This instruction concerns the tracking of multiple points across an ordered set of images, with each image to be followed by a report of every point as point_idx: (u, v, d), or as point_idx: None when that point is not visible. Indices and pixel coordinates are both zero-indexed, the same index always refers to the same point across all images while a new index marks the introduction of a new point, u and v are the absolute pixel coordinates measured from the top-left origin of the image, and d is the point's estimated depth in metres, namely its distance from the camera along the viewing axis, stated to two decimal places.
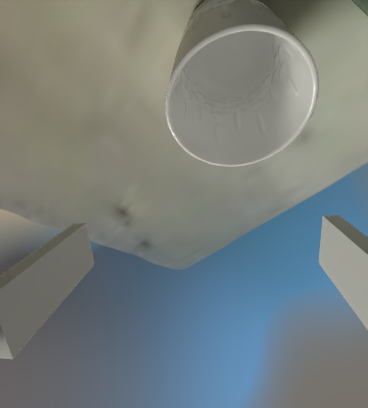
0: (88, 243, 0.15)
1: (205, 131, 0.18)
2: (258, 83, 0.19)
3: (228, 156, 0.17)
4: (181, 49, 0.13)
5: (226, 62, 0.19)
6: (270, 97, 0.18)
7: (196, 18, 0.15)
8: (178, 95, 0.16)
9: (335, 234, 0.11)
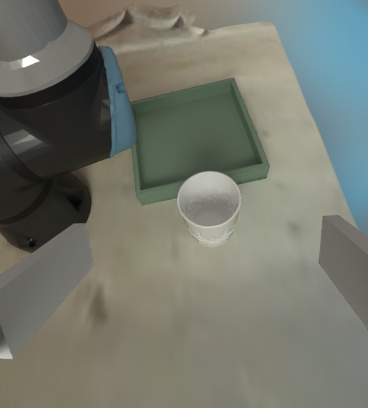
0: (88, 243, 0.15)
1: None
2: None
3: None
4: None
5: (214, 226, 0.38)
6: (233, 207, 0.35)
7: None
8: None
9: (335, 234, 0.11)
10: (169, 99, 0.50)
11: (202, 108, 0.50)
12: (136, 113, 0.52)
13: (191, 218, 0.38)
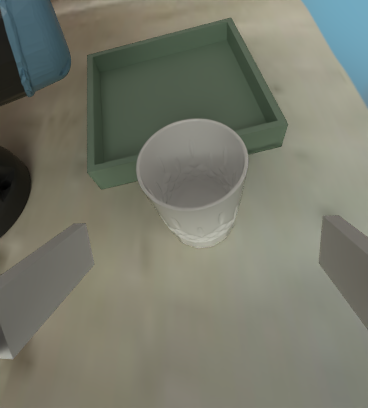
0: (88, 243, 0.15)
1: None
2: None
3: None
4: None
5: None
6: (234, 183, 0.22)
7: None
8: None
9: (335, 234, 0.11)
10: (144, 49, 0.37)
11: (188, 61, 0.37)
12: (101, 71, 0.39)
13: (169, 204, 0.25)
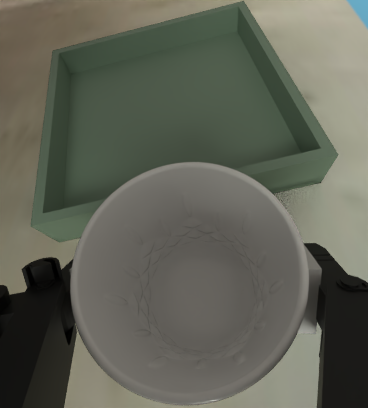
0: None
1: (215, 368, 0.09)
2: (253, 284, 0.14)
3: (263, 353, 0.07)
4: None
5: (209, 302, 0.15)
6: (262, 267, 0.12)
7: None
8: (139, 347, 0.10)
9: None
10: (128, 43, 0.28)
11: (187, 59, 0.28)
12: (72, 71, 0.29)
13: (153, 283, 0.16)
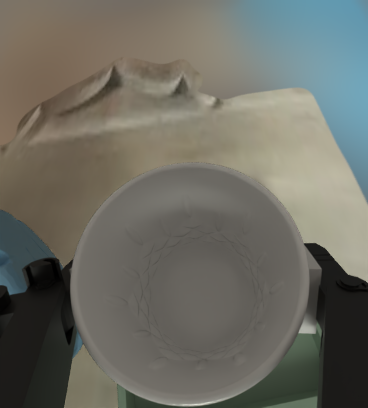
0: None
1: (215, 369, 0.09)
2: (253, 285, 0.14)
3: (263, 354, 0.07)
4: None
5: (210, 303, 0.15)
6: (262, 267, 0.12)
7: None
8: (139, 347, 0.10)
9: None
10: None
11: None
12: None
13: (153, 283, 0.16)
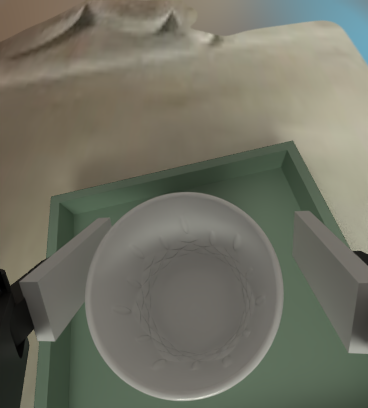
0: None
1: (207, 370, 0.11)
2: (243, 293, 0.16)
3: (245, 359, 0.09)
4: None
5: (204, 309, 0.17)
6: (250, 280, 0.14)
7: None
8: (142, 351, 0.12)
9: (303, 228, 0.12)
10: (146, 187, 0.22)
11: None
12: (76, 213, 0.24)
13: (153, 291, 0.17)
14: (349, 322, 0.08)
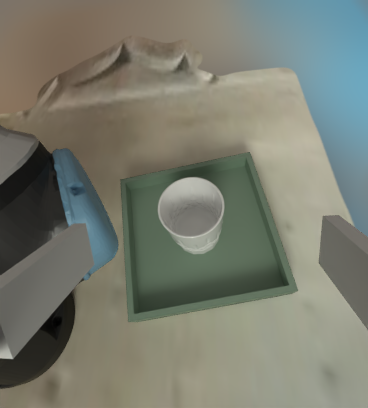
0: (88, 243, 0.15)
1: None
2: None
3: None
4: None
5: (199, 232, 0.37)
6: (218, 215, 0.34)
7: None
8: None
9: (335, 234, 0.11)
10: (171, 176, 0.42)
11: None
12: (131, 189, 0.43)
13: (176, 224, 0.37)
14: None
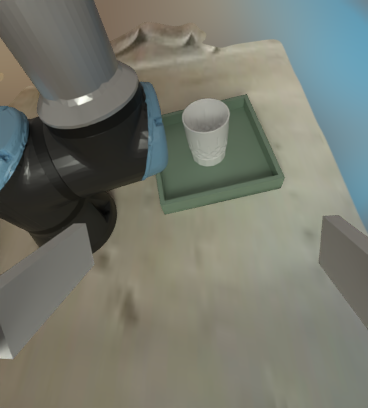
0: (88, 243, 0.15)
1: None
2: None
3: None
4: None
5: None
6: None
7: None
8: None
9: (335, 234, 0.11)
10: None
11: None
12: None
13: None
14: None
